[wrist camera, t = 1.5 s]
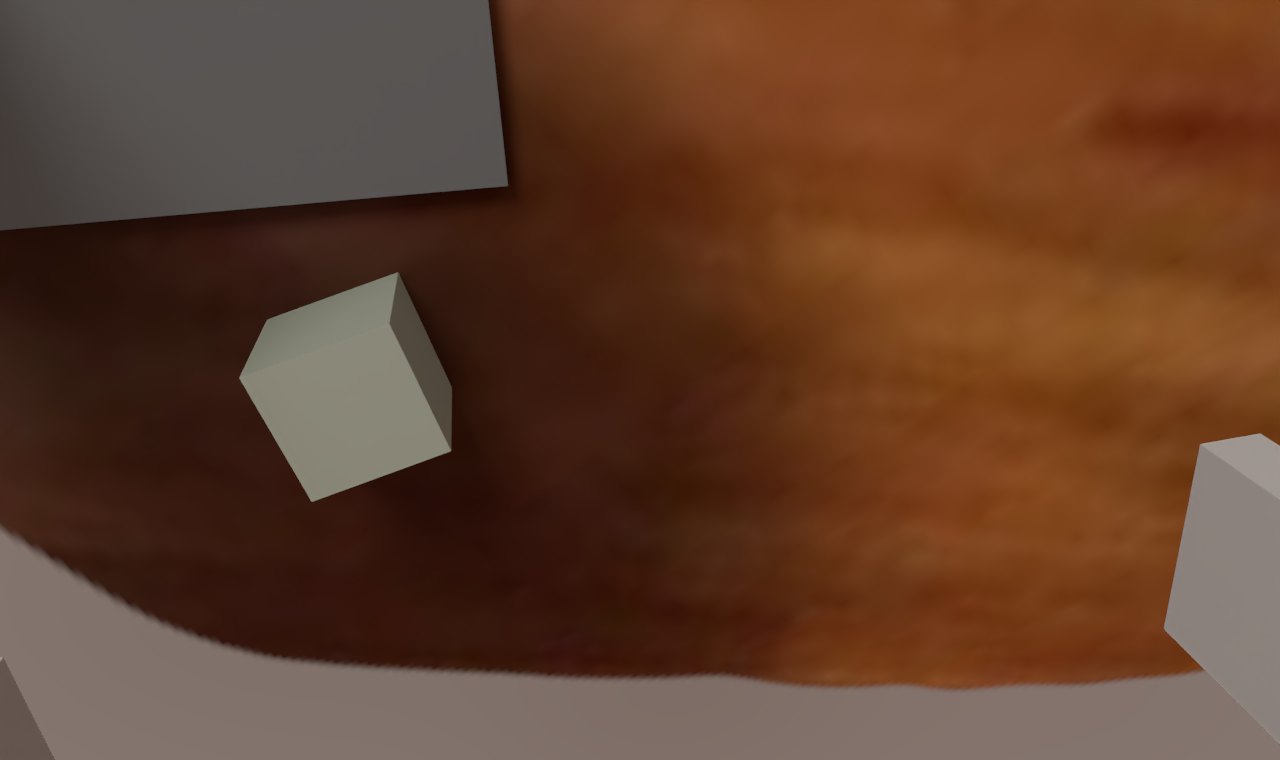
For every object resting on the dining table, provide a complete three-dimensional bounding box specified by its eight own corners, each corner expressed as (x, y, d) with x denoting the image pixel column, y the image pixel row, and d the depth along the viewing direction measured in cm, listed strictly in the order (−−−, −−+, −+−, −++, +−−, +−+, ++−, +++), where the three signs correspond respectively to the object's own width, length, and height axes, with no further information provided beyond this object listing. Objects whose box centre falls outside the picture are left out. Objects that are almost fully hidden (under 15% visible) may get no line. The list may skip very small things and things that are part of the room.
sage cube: (267, 318, 34) (239, 378, 30) (398, 271, 35) (389, 323, 30) (329, 431, 37) (311, 501, 32) (452, 387, 37) (451, 451, 32)
